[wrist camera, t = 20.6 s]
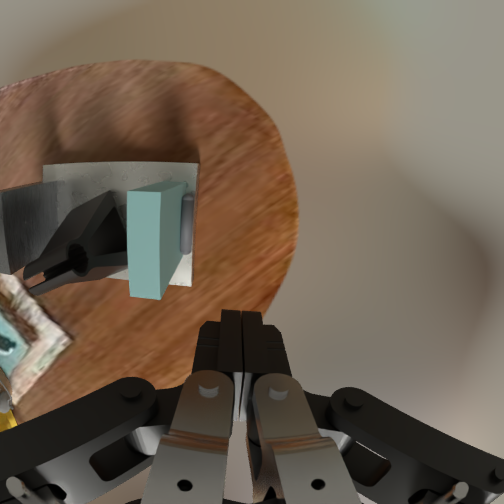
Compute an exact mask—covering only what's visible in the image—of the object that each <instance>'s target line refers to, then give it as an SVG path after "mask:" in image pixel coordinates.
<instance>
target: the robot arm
mask: <svg viewBox="0 0 504 504" xmlns="http://www.w3.org/2000/svg"><path fill="white" fill-rule="evenodd" d="M238 409H239V421H246V422H247V433H246V447H247V453H248V460H249V466H250V472H251V478H252V484H253V503H252V504H364V503H361V501H360V498H359V496H358V494H357V492H358V493H360V494H362V495H363V496H365V497H367V498H369V499H370V500H372V501H374V502H375V503H377V504H490V503H491V502H492V501H494V500H495V499H496V498H498V497H499V496H500V495H502V494H503V493H504V459H501V458H499V457H497V456H494V455H492V454H489V453H487V452H484V451H482V450H480V449H478V448H475V447H473V446H471V445H468V444H466V443H464V442H462V441H459V440H458V439H455V438H453V437H451V436H449V435H447V434H445V433H443V432H441V431H439V430H437V429H434V428H433V427H430V426H429V425H427V424H424V423H423V422H420V421H419V420H417V419H415V418H413V417H411V416H409V415H407V414H405V413H403V412H401V411H399V410H398V409H396V408H394V407H392V406H390V405H388V404H387V403H384V402H383V401H381V400H379V399H378V398H376V397H374V396H372V395H370V394H369V393H367V392H365V391H363V390H361V389H358V388H354V387H345V388H341V389H338V390H336V391H335V392H334V393H333V394H332V396H331V397H326V396H321V395H315V394H311V393H309V392H306V391H304V390H303V389H302V387H301V385H300V383H299V382H298V381H297V380H296V379H294V378H292V374H291V370H290V366H289V362H288V359H287V354H286V351H285V347H284V344H283V339H282V335H281V332H280V331H279V330H278V329H277V328H276V327H275V326H274V325H263V321H262V315H261V312H255V311H242V313H241V311H239V310H225V309H222V312H221V322H215V321H206V322H205V323H204V324H203V325H202V326H201V327H200V331H199V336H198V341H197V346H196V351H195V357H194V362H193V368H192V373H191V375H189V376H188V377H187V378H186V380H185V382H184V383H183V384H182V385H180V386H177V387H174V388H169V389H159V390H155V388H154V386H153V385H152V384H151V383H150V382H148V381H146V380H145V379H142V378H138V377H126V378H121V379H119V380H117V381H115V382H113V383H111V384H109V385H107V386H104V387H102V388H100V389H98V390H96V391H94V392H92V393H90V394H88V395H86V396H84V397H81V398H79V399H77V400H75V401H73V402H71V403H68V404H66V405H64V406H62V407H60V408H57V409H55V410H53V411H50V412H48V413H46V414H44V415H41V416H39V417H37V418H34V419H32V420H29V421H27V422H25V423H22V424H20V425H17V426H15V427H12V428H10V429H7V430H4V431H2V432H0V504H86V503H88V502H90V501H92V500H94V499H96V498H97V497H99V496H101V495H103V494H105V493H107V492H108V491H110V490H112V489H114V488H115V487H117V486H119V485H120V484H122V483H124V482H125V481H127V480H129V479H130V478H132V477H133V476H135V475H137V474H138V473H139V472H141V471H143V470H144V469H146V468H147V467H149V466H150V465H152V466H151V470H150V473H149V477H148V480H147V483H146V486H145V490H144V493H143V497H142V499H137V500H134V501H131V502H128V503H126V504H246V503H241V502H236V501H231V500H227V499H223V496H224V486H225V476H226V466H227V456H228V446H229V438H230V436H231V434H232V426H233V421H237V418H238ZM356 441H357V442H359V443H361V444H362V445H364V446H366V447H367V448H369V449H371V450H372V451H374V452H376V453H377V454H379V455H381V456H383V457H384V458H386V459H384V458H382V457H380V456H378V455H377V454H375V453H373V452H371V451H370V450H368V449H367V448H365V447H363V446H361V445H360V444H358V443H357V442H356ZM387 459H388V460H387Z"/></svg>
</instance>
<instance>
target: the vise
mask: <svg viewBox="0 0 504 504" xmlns="http://www.w3.org/2000/svg"><path fill="white" fill-rule="evenodd" d="M199 172H200V164H199V163H179V162H85V163H66V164H52V165H43V181H42V182H37V183H31V184H26V185H21V186H17V187H12V188H8V189H3V190H0V273H3V274H8V275H12V274H13V273H15V272H16V271H18V270H19V269H21V268H22V267H24V266H26V265H27V264H28V263H30V262H32V261H34V260H35V259H37V258H39V256H40V255H41V253H42V252H43V250H44V248H45V247H46V245H47V244H48V242H49V241H50V239H51V238H52V236H53V235H54V233H55V232H56V230H57V229H58V227H59V226H60V225H61V223H62V222H63V220H64V219H65V218H66V216H67V215H68V213H69V212H70V211H71V210H73V209H74V208H76V207H78V206H80V205H82V204H84V203H85V202H87V201H89V200H91V199H93V198H95V197H97V196H99V195H101V194H103V193H104V192H106V191H108V190H111V192H112V194H113V197H114V200H115V202H116V205H117V208H118V210H119V213H120V215H121V218H122V220H123V223H124V227H125V228H126V230H127V191H129V190H133V189H136V188H140V187H143V186H147V185H151V184H154V183H158V182H162V181H168V182H186V194H187V193H190V194H192V195H193V196H194V213H193V231H192V251H191V253H190V254H188V255H183V257H182V259H181V261H180V263H179V265H178V267H177V269H176V271H175V273H174V274H173V276H172V278H171V280H170V282H169V284H171V285H182V286H192V283H193V280H194V253H195V231H196V213H197V198H198V185H199ZM108 278H116V279H125V280H129V273H128V269H126V270H124V271H121V272H118V273H116V274H113V275H110V276H108Z"/></svg>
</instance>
